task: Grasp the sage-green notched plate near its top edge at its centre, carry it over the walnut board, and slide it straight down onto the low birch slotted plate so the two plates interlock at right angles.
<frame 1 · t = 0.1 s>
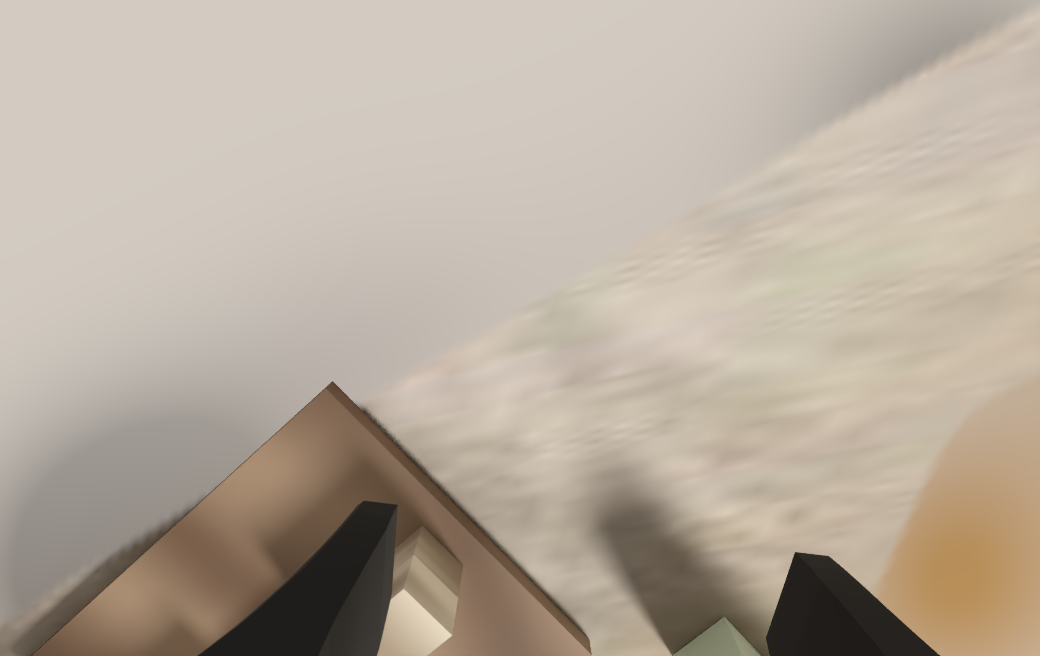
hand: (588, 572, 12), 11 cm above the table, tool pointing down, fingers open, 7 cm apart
slotted base: (304, 651, 25), on the table
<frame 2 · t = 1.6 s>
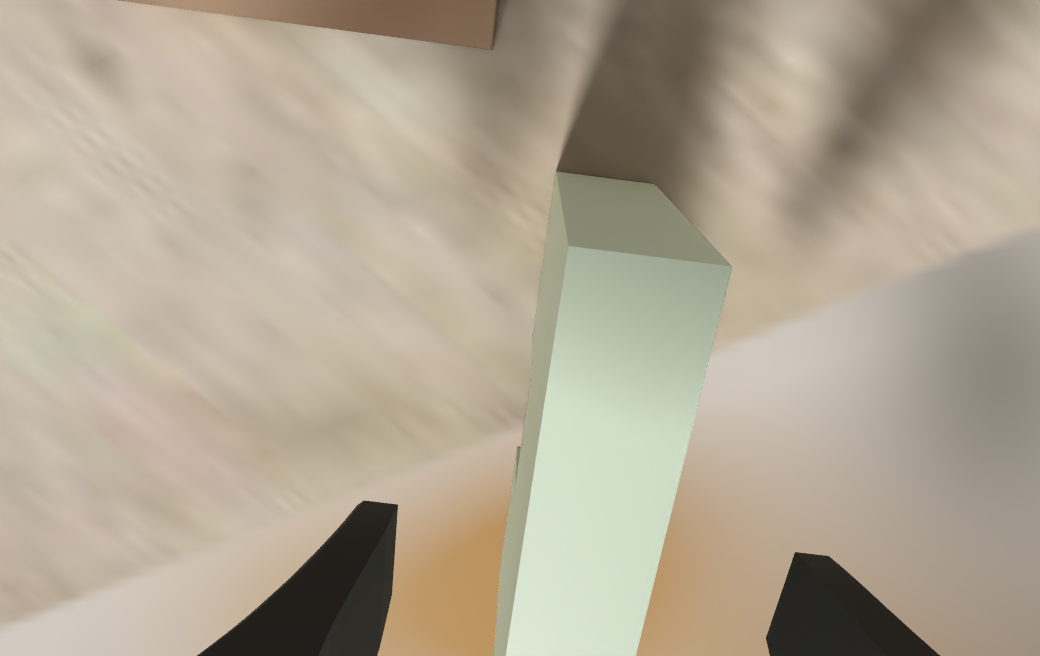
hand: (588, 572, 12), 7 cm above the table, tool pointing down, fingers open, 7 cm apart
sage plate: (568, 398, 19), on the table
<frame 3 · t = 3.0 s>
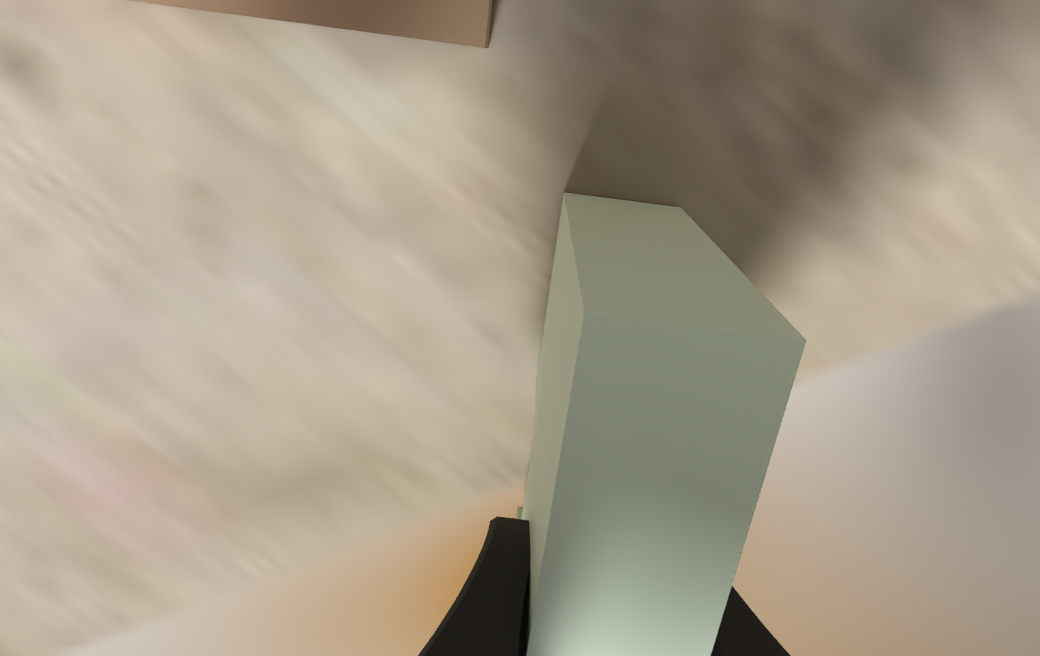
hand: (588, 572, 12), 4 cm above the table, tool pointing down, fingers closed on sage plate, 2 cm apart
sage plate: (577, 452, 16), on the table, touching gripper
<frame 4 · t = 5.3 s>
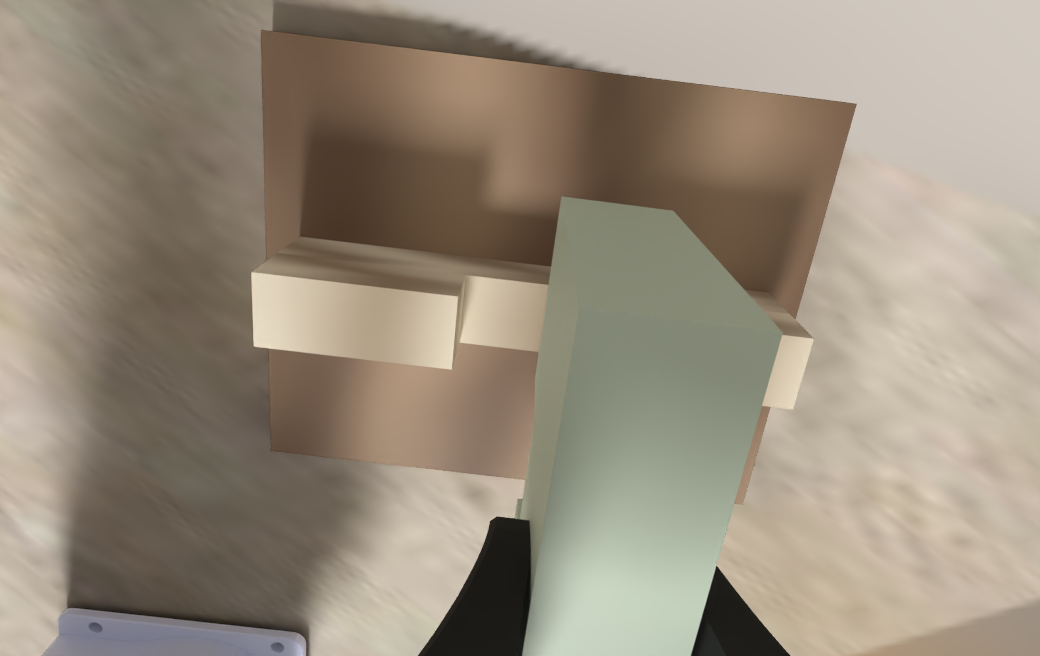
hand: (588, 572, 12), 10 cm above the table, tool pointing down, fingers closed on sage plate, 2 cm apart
slotted base: (531, 288, 21), on the table
sage plate: (574, 446, 17), point 6 cm above the table, touching gripper
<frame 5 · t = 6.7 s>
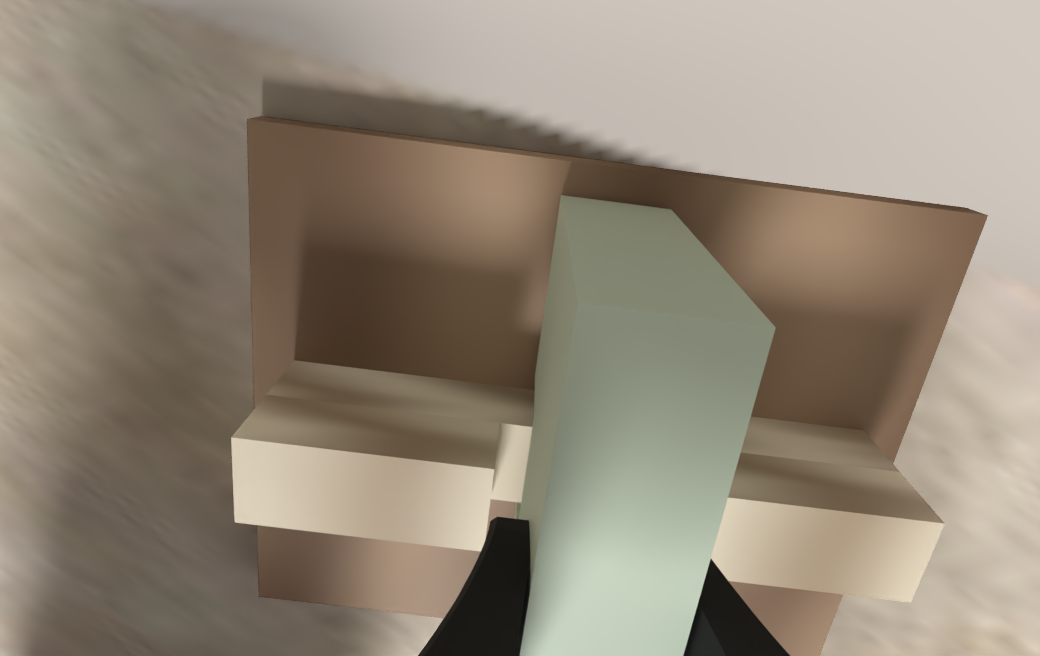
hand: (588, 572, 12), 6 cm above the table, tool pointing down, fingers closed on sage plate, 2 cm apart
slotted base: (573, 415, 18), on the table
sage plate: (573, 442, 17), point 1 cm above the table, touching gripper
when the fingers open (6 cm above the table, at t = 7.4 s): sage plate stays where it is, resting on slotted base.
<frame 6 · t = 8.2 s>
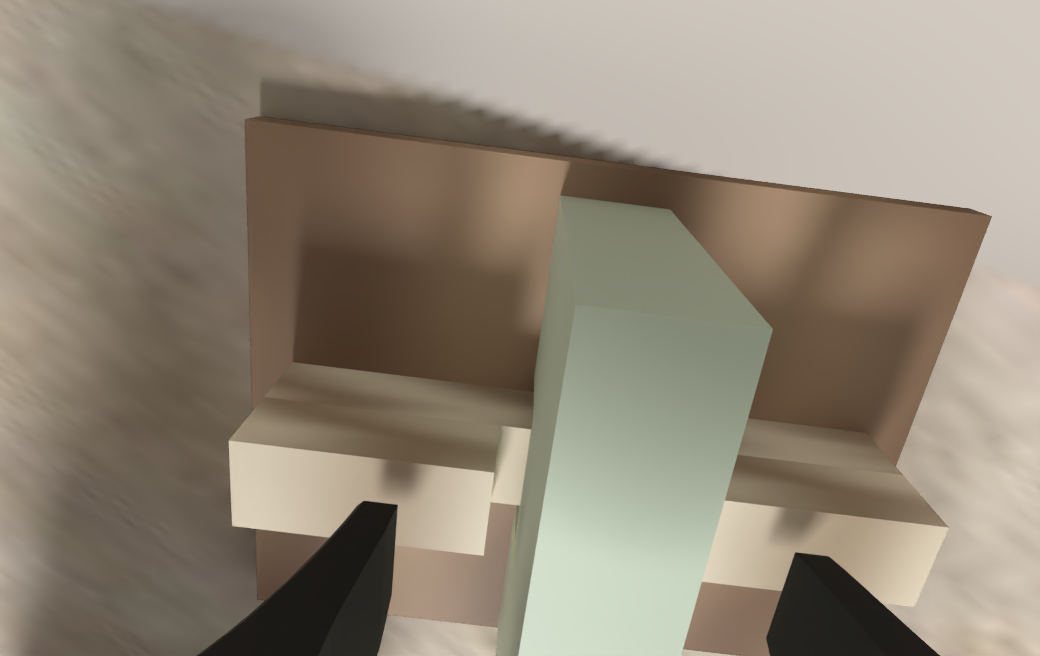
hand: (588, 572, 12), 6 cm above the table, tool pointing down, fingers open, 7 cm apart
slotted base: (574, 417, 18), on the table
sage plate: (573, 441, 17), point 1 cm above the table, touching slotted base
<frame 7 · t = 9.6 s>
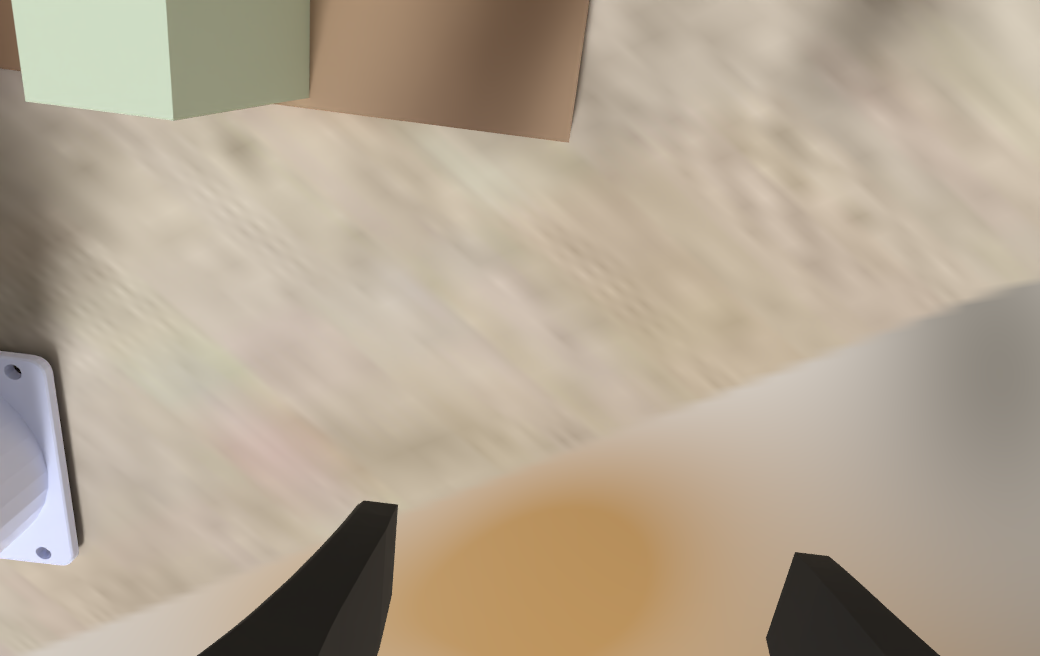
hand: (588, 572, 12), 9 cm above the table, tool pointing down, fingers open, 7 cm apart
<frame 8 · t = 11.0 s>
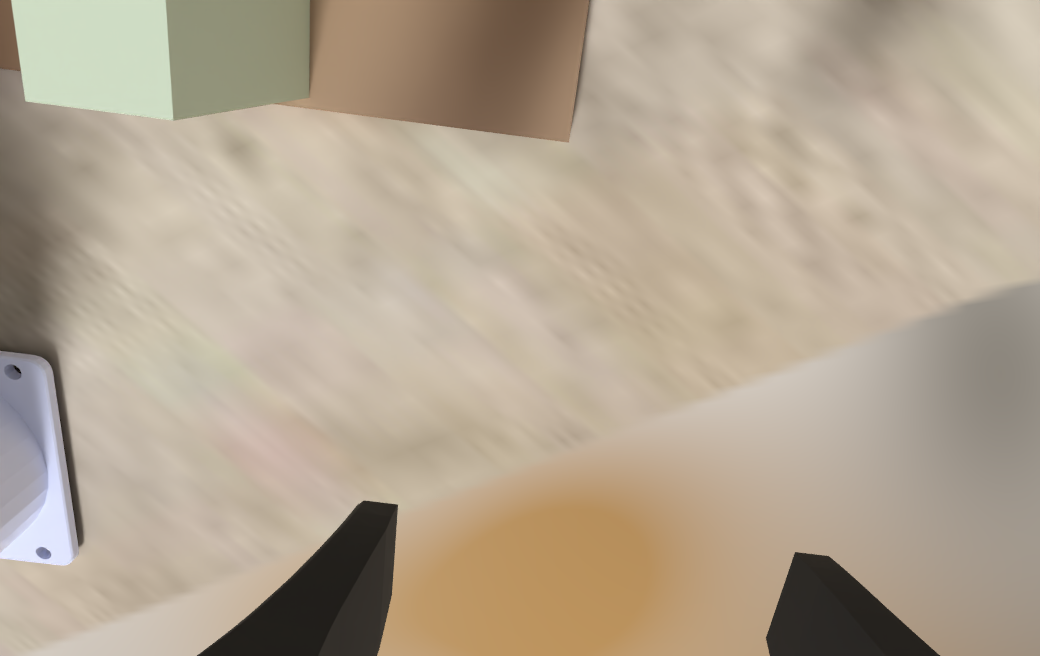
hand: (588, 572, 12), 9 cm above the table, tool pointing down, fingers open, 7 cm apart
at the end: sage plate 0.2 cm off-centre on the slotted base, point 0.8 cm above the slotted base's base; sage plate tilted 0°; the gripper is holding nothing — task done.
